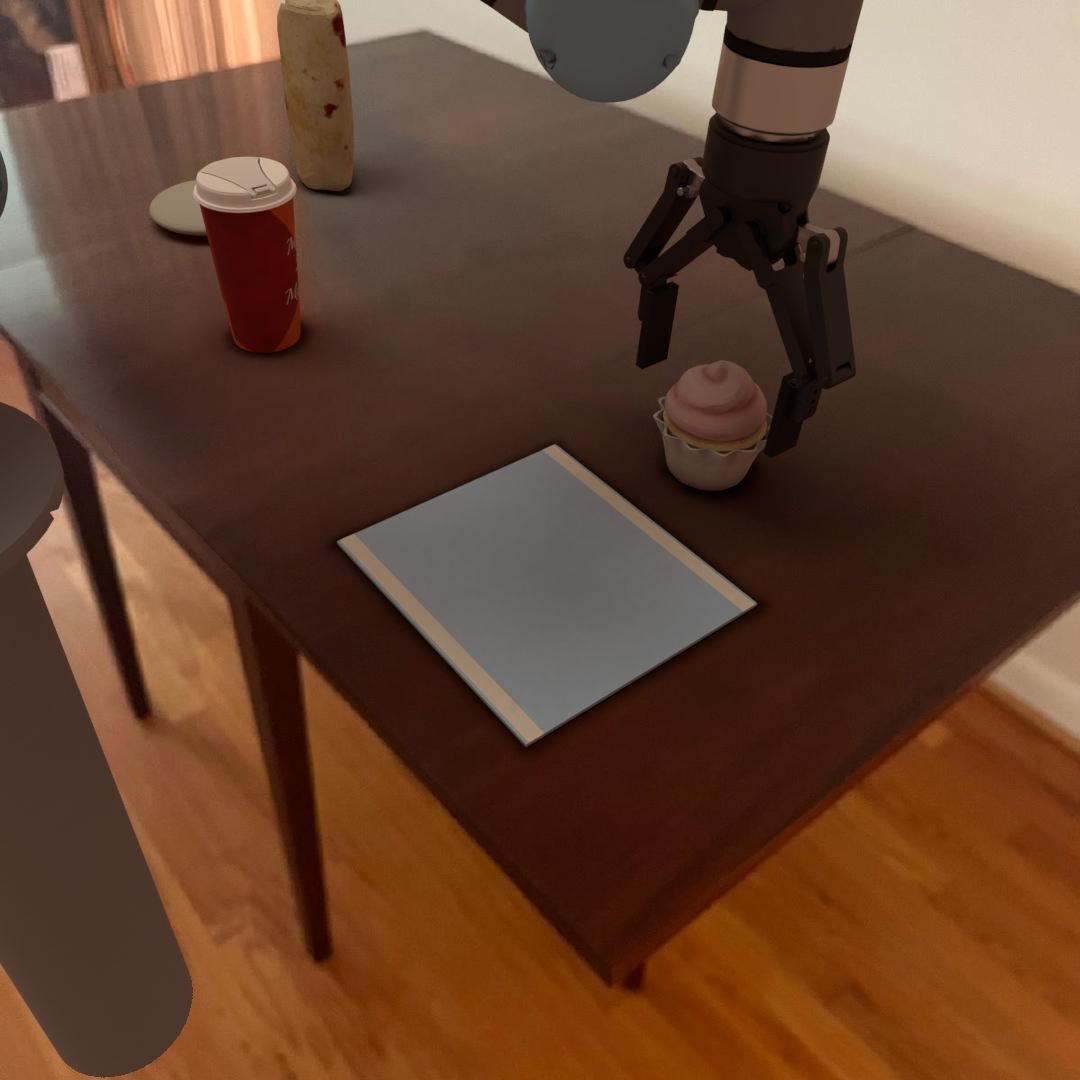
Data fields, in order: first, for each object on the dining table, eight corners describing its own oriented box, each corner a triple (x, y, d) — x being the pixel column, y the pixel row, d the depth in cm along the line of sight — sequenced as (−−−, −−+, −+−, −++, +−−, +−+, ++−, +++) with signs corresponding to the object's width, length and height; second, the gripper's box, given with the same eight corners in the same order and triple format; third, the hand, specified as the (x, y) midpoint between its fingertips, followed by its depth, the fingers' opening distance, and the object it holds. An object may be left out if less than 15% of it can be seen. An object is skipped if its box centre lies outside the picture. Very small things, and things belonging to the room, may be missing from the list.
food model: (372, 191, 118) (359, -2, 105) (316, 203, 115) (296, 6, 102) (336, 160, 124) (319, -27, 110) (282, 170, 121) (259, -20, 108)
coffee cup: (330, 341, 94) (313, 179, 84) (246, 370, 90) (218, 204, 80) (284, 302, 99) (263, 145, 89) (203, 328, 95) (171, 166, 85)
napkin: (337, 544, 75) (336, 540, 74) (555, 446, 84) (555, 443, 84) (526, 747, 62) (526, 744, 62) (756, 606, 72) (757, 602, 72)
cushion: (136, 242, 107) (129, 214, 105) (172, 192, 116) (167, 165, 114) (253, 249, 107) (249, 221, 105) (281, 198, 116) (277, 172, 114)
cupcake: (623, 452, 84) (636, 344, 77) (715, 421, 88) (735, 315, 81) (693, 520, 78) (713, 410, 72) (788, 483, 82) (817, 375, 75)
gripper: (978, 180, 60) (875, 472, 74) (675, 50, 73) (638, 317, 88) (896, 210, 56) (805, 511, 70) (594, 67, 70) (569, 343, 84)
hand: (712, 404), depth 79 cm, fingers open, 13 cm apart
